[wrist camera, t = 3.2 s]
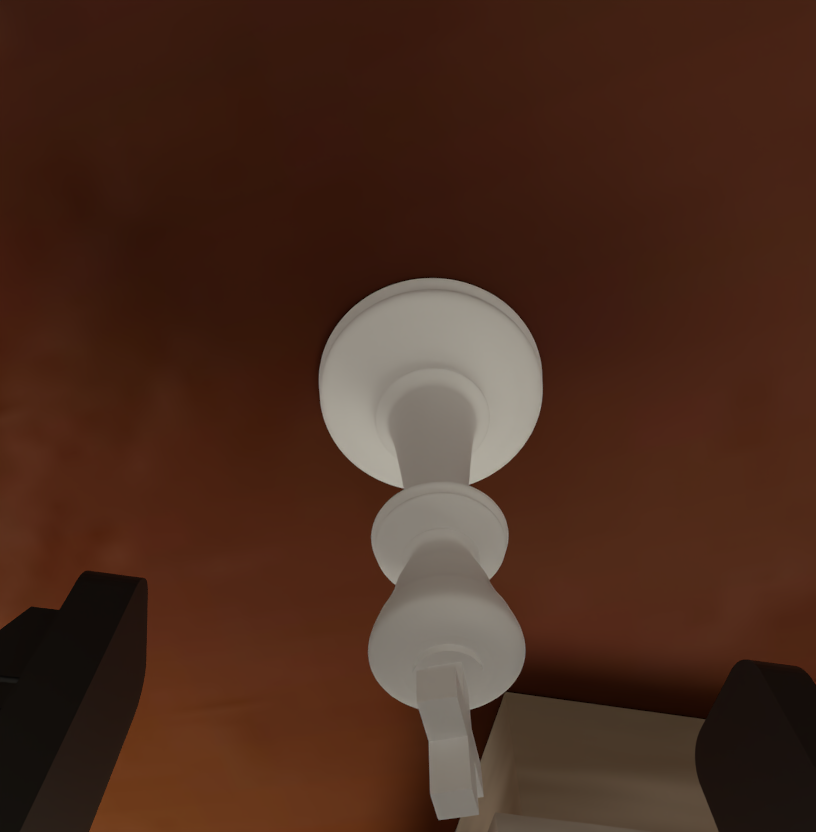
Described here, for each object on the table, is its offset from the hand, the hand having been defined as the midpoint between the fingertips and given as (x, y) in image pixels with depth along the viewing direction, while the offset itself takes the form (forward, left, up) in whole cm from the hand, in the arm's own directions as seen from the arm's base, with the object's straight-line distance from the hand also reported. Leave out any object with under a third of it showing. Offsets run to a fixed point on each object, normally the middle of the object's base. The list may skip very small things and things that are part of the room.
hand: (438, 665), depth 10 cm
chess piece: (-1, 0, -8) cm, 8 cm away
